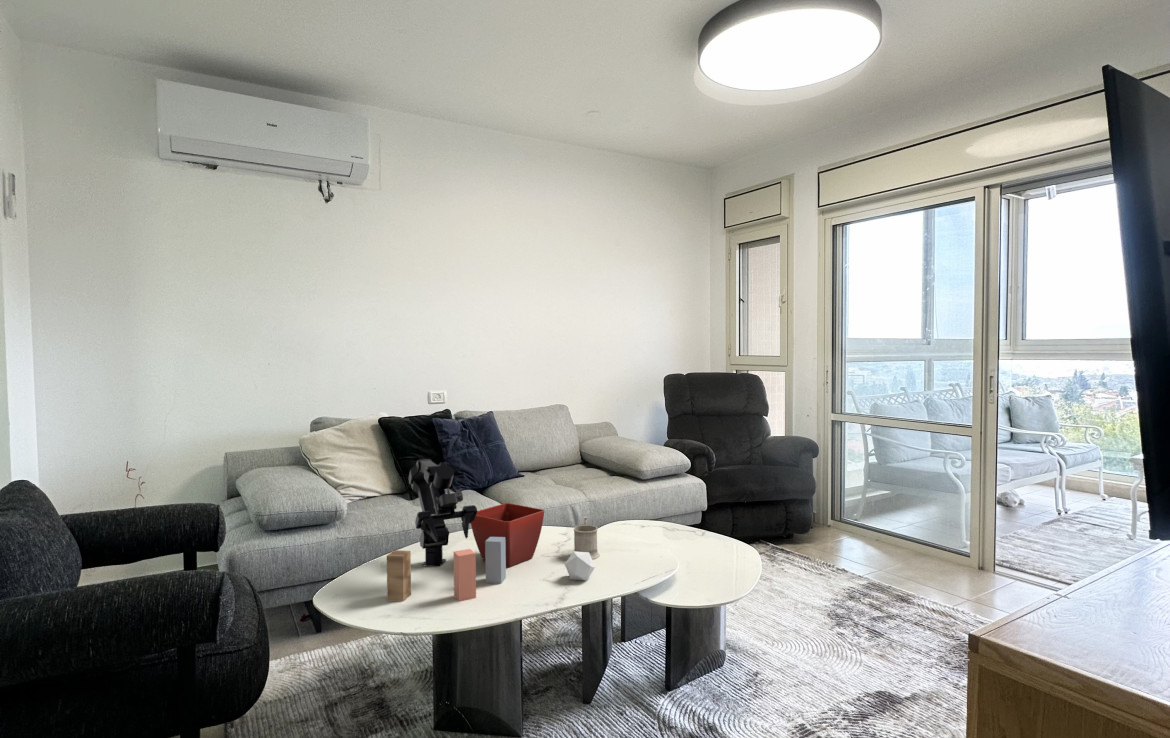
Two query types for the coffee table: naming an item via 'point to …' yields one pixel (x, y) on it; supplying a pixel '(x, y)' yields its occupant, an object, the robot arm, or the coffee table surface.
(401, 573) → the walnut pillar
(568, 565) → the die
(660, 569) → the coffee table surface
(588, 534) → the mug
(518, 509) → the plant pot
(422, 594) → the coffee table surface
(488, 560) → the slate pillar
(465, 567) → the salmon block
